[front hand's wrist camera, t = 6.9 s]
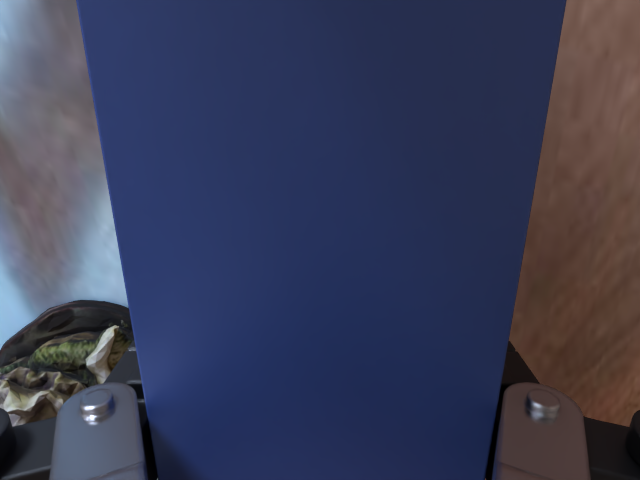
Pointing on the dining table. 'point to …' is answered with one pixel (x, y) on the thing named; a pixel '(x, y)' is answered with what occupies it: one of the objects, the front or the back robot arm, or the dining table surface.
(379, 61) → the box
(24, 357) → the figurine
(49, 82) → the dining table surface
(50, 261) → the dining table surface
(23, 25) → the dining table surface
